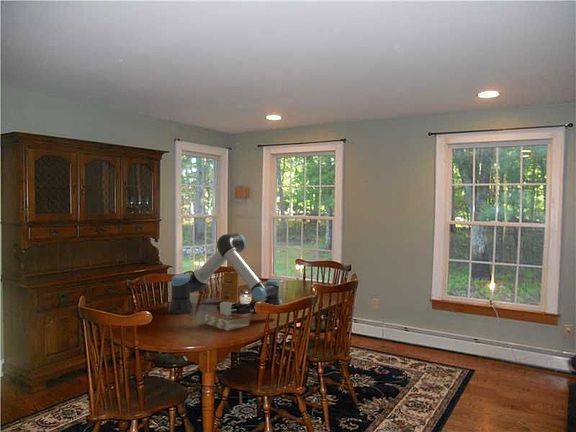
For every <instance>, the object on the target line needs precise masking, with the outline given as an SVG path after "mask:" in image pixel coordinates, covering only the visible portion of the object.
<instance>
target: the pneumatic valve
mask: <svg viewBox="0 0 576 432" xmlns="http://www.w3.org/2000/svg"><path fill="white" fill-rule="evenodd" d="M237 304H238V303H231V302H229V301H227V302H221V301H220V302H219V303H218V304H217V305H216V306H217V307H216V310H217V311H218V315H219V314H220V315H224V316H223V317H222V319H223V320H226V321H230V320H233V317H232V316H234V315H236V314H233V315H225V310H232V309H237V308H238V306H237Z"/></svg>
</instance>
